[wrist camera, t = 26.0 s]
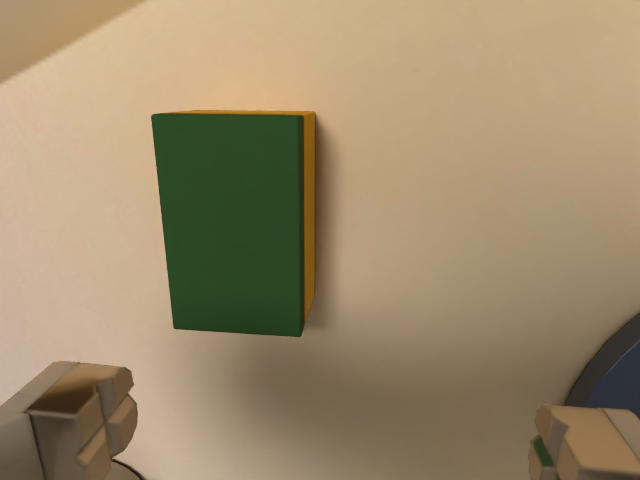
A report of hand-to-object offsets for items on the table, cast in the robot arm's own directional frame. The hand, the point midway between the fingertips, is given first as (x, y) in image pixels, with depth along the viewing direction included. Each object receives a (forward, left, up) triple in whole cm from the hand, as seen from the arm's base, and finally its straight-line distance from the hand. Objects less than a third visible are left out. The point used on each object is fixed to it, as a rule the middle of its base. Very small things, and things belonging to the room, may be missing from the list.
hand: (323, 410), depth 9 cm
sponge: (-1, -4, -11) cm, 12 cm away
